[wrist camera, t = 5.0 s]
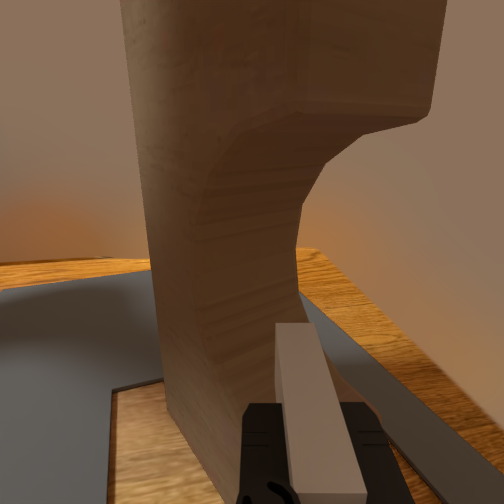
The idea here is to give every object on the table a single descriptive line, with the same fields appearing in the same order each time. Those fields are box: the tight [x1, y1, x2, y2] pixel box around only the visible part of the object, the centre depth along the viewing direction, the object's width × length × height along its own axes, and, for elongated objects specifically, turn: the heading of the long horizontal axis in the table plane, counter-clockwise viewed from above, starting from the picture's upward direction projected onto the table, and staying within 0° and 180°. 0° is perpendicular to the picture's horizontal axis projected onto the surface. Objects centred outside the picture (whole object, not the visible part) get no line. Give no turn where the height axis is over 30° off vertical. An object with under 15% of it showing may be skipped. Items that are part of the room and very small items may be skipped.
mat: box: [0, 270, 504, 504], centre depth 35 cm, size 50×41×1 cm
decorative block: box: [120, 0, 447, 504], centre depth 20 cm, size 15×8×30 cm, turn 36°
